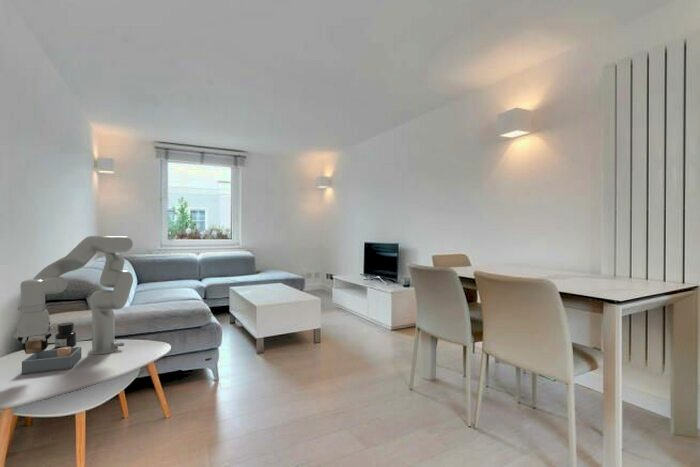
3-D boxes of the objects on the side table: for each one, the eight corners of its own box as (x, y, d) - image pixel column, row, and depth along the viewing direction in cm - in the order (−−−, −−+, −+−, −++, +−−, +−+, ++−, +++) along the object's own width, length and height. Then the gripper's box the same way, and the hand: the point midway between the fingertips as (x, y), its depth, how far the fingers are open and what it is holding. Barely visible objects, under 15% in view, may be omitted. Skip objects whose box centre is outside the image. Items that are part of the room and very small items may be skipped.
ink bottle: (51, 347, 188) (51, 324, 188) (70, 342, 196) (70, 321, 196) (60, 349, 184) (60, 327, 184) (79, 345, 191) (79, 323, 191)
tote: (81, 358, 172) (81, 346, 172) (71, 368, 159) (71, 356, 159) (36, 362, 165) (36, 351, 165) (21, 374, 152) (21, 361, 152)
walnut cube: (45, 348, 154) (45, 337, 154) (40, 352, 149) (40, 340, 149) (31, 350, 152) (30, 338, 152) (25, 354, 147) (25, 342, 147)
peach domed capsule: (72, 360, 167) (72, 346, 167) (68, 364, 162) (68, 349, 162) (59, 362, 165) (59, 347, 165) (55, 365, 160) (55, 350, 160)
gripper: (3, 313, 143) (5, 356, 144) (55, 308, 150) (57, 350, 150) (12, 308, 150) (14, 350, 151) (61, 304, 156) (63, 344, 157)
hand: (36, 349), depth 151 cm, fingers closed on walnut cube, 5 cm apart
